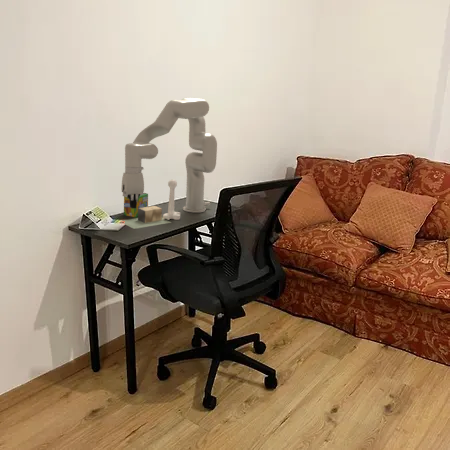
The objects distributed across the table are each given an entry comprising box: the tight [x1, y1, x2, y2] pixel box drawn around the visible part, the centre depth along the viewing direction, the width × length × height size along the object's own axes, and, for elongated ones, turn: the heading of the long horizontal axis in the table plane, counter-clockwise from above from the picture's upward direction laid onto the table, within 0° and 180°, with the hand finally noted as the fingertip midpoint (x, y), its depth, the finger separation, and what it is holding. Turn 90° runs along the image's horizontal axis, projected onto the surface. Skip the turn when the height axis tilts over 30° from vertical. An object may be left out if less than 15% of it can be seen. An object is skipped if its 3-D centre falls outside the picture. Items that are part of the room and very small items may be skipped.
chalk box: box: [123, 192, 149, 218], centre depth 243 cm, size 9×9×15 cm
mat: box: [122, 217, 172, 230], centre depth 234 cm, size 21×15×1 cm
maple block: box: [138, 205, 163, 223], centre depth 236 cm, size 6×6×10 cm
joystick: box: [162, 179, 181, 221], centre depth 240 cm, size 11×8×20 cm
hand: (133, 207), depth 229 cm, fingers closed
